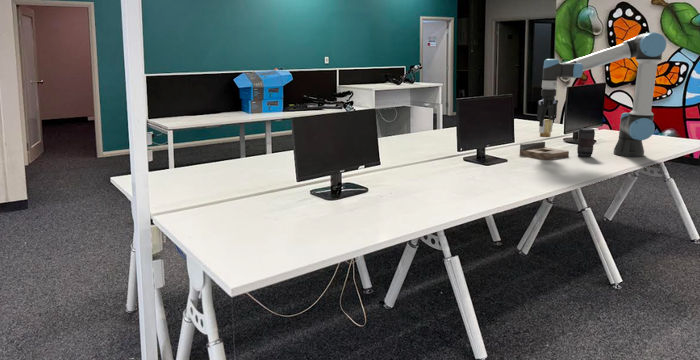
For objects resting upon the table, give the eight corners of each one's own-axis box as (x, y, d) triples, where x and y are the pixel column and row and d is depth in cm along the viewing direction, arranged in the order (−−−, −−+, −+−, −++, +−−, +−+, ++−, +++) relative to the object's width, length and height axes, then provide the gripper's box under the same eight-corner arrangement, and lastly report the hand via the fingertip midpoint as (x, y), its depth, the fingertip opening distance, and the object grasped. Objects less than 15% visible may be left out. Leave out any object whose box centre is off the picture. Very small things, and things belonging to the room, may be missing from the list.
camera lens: (589, 155, 306) (592, 128, 303) (594, 158, 298) (597, 130, 295) (574, 155, 307) (576, 127, 304) (578, 157, 299) (581, 129, 296)
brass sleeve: (544, 135, 306) (545, 119, 304) (552, 136, 301) (554, 120, 299) (537, 136, 303) (538, 119, 301) (545, 137, 299) (547, 120, 297)
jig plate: (568, 156, 302) (569, 145, 300) (546, 160, 293) (547, 148, 291) (541, 151, 317) (542, 141, 315) (519, 154, 307) (520, 144, 306)
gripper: (543, 89, 289) (539, 134, 294) (566, 88, 298) (562, 131, 303) (531, 88, 295) (528, 132, 300) (554, 87, 304) (551, 130, 310)
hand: (545, 131), depth 302 cm, fingers closed on brass sleeve, 5 cm apart
